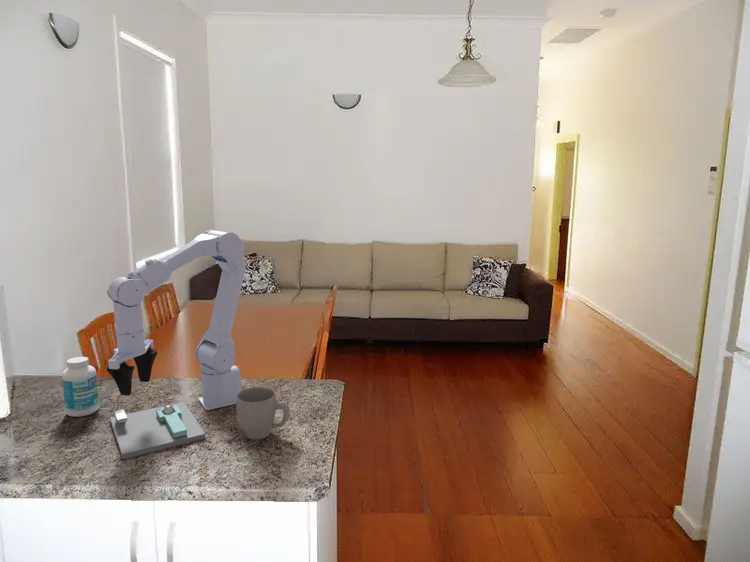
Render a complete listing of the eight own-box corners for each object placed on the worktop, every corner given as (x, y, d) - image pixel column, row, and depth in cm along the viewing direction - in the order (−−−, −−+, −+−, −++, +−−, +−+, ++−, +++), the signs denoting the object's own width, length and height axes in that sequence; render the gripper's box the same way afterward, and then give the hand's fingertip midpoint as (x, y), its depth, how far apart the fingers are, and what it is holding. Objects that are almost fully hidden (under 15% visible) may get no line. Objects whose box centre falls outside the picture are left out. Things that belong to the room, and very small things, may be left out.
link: (156, 414, 133) (155, 409, 132) (177, 409, 135) (176, 405, 135) (169, 439, 121) (168, 433, 120) (191, 433, 123) (191, 428, 123)
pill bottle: (76, 420, 133) (70, 367, 130) (59, 413, 136) (53, 361, 134) (106, 409, 139) (100, 358, 136) (88, 402, 143) (83, 352, 140)
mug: (231, 441, 123) (229, 401, 121) (246, 423, 131) (244, 385, 129) (284, 446, 121) (282, 404, 119) (295, 427, 129) (294, 388, 127)
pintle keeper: (170, 414, 136) (169, 399, 135) (175, 422, 131) (173, 407, 131) (115, 426, 130) (114, 411, 129) (119, 435, 125) (117, 419, 124)
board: (184, 406, 141) (183, 401, 140) (205, 438, 124) (205, 433, 124) (110, 422, 132) (109, 417, 132) (122, 459, 115) (122, 454, 115)
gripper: (132, 321, 132) (137, 375, 135) (92, 340, 118) (99, 399, 121) (159, 322, 131) (164, 376, 134) (123, 341, 117) (129, 401, 120)
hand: (135, 387), depth 127 cm, fingers open, 7 cm apart
